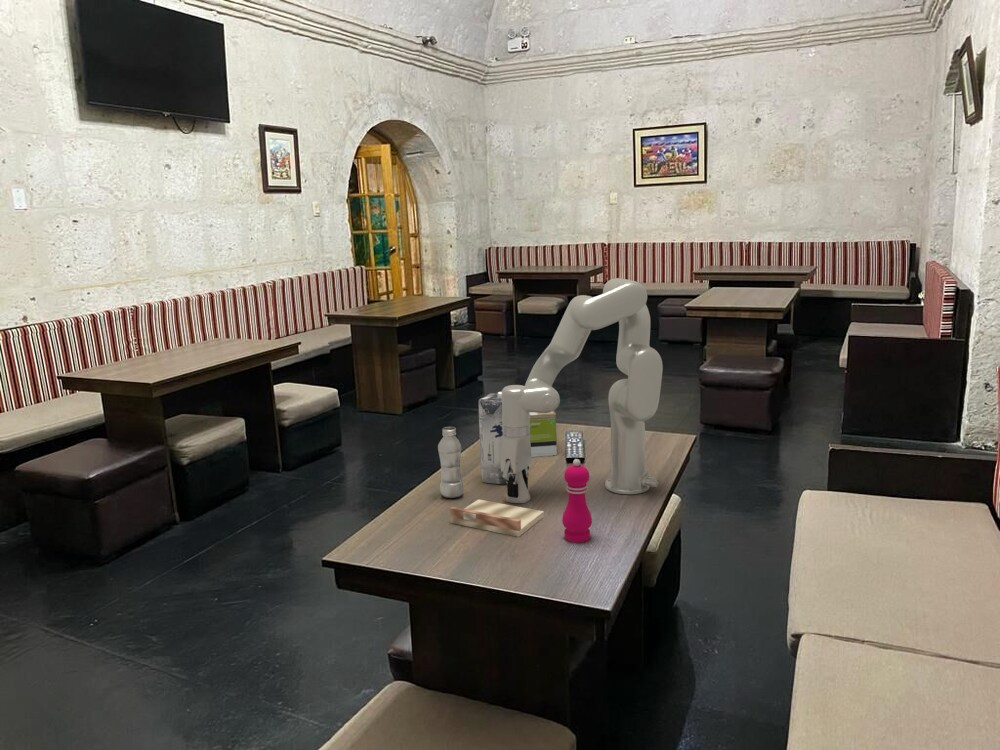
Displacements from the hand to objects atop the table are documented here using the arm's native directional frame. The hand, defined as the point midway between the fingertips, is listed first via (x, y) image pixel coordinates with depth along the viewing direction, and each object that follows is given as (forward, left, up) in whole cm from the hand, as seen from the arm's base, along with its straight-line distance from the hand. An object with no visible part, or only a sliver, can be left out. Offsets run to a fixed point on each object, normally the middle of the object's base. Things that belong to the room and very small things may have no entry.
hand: (517, 492), depth 208 cm
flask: (0, 0, -2) cm, 2 cm away
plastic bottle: (+18, +6, -2) cm, 19 cm away
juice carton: (+13, -12, -2) cm, 18 cm away
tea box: (+15, -43, -2) cm, 46 cm away
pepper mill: (-25, +16, -2) cm, 30 cm away
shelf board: (-2, +15, -2) cm, 15 cm away
